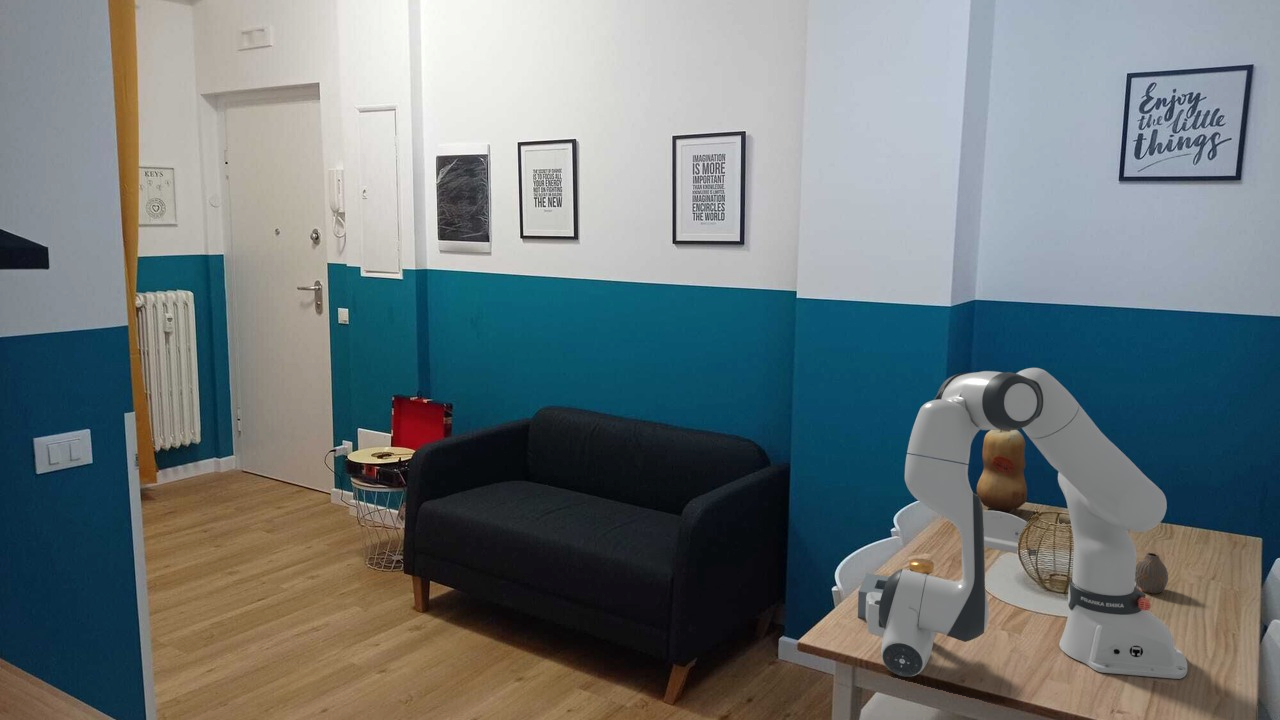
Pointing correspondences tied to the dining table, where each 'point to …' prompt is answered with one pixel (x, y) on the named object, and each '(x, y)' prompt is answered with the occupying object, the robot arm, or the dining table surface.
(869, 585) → the hitch block
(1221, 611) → the dining table surface
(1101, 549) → the robot arm
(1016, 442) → the butternut squash
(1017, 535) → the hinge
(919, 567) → the lynch pin
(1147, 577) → the vase
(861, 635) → the dining table surface
